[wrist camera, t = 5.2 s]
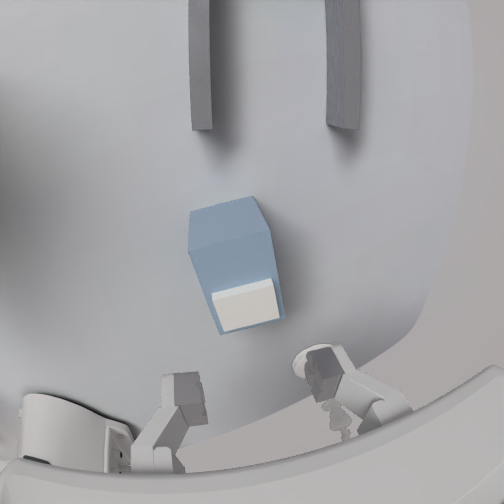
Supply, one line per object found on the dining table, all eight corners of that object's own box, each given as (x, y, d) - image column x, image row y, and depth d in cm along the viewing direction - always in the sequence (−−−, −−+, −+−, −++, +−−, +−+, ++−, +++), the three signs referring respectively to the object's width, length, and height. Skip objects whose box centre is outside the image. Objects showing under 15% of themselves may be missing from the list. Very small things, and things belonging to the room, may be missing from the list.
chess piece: (291, 378, 29) (317, 460, 20) (292, 349, 26) (324, 442, 18) (334, 367, 29) (367, 443, 21) (340, 338, 27) (382, 422, 18)
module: (267, 271, 21) (288, 325, 16) (214, 285, 21) (221, 342, 16) (252, 195, 18) (272, 235, 13) (190, 211, 18) (187, 257, 13)
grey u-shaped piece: (340, 124, 16) (366, 132, 14) (193, 126, 15) (191, 132, 12) (333, -56, 9) (355, -74, 7) (192, -68, 8) (192, -93, 5)
